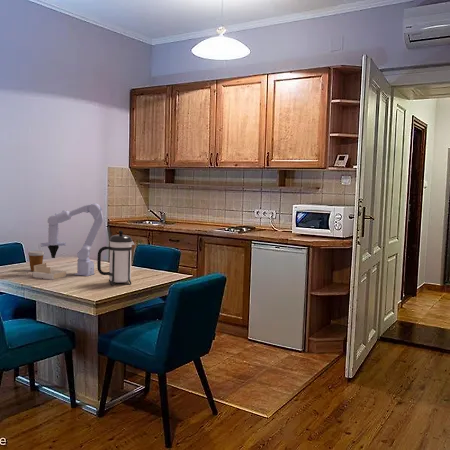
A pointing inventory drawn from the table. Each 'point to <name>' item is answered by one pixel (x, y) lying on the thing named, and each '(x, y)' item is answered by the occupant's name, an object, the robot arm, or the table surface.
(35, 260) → the disposable coffee cup
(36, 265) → the far flap
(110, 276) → the coffee press
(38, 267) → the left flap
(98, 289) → the table surface
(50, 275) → the carton
